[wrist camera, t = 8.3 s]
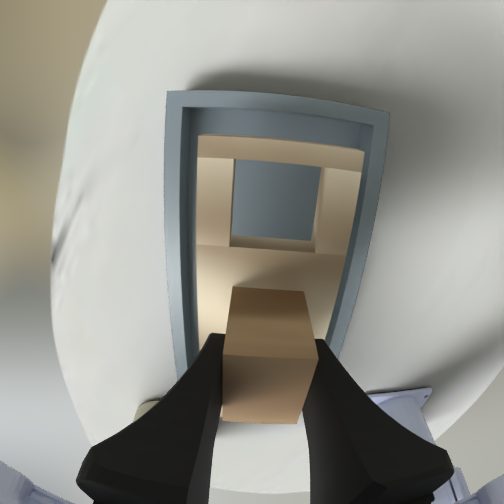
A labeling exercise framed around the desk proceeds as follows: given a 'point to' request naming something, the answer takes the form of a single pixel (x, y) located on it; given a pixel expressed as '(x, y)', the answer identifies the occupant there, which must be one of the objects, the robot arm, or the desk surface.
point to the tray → (263, 189)
